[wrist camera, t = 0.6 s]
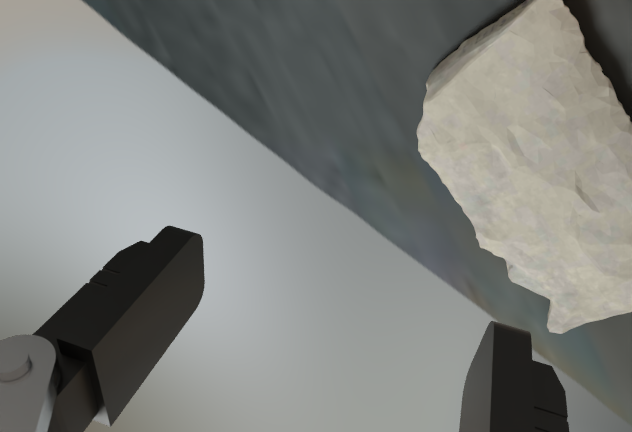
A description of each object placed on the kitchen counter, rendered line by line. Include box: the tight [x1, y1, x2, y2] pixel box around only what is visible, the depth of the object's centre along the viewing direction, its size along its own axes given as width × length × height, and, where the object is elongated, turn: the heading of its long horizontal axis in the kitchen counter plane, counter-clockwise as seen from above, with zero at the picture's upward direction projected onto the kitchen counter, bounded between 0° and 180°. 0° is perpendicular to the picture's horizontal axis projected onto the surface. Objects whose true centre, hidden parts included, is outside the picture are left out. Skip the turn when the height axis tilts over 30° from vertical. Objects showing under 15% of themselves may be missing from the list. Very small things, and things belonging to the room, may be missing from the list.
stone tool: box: [417, 0, 632, 334], centre depth 36 cm, size 13×4×25 cm
